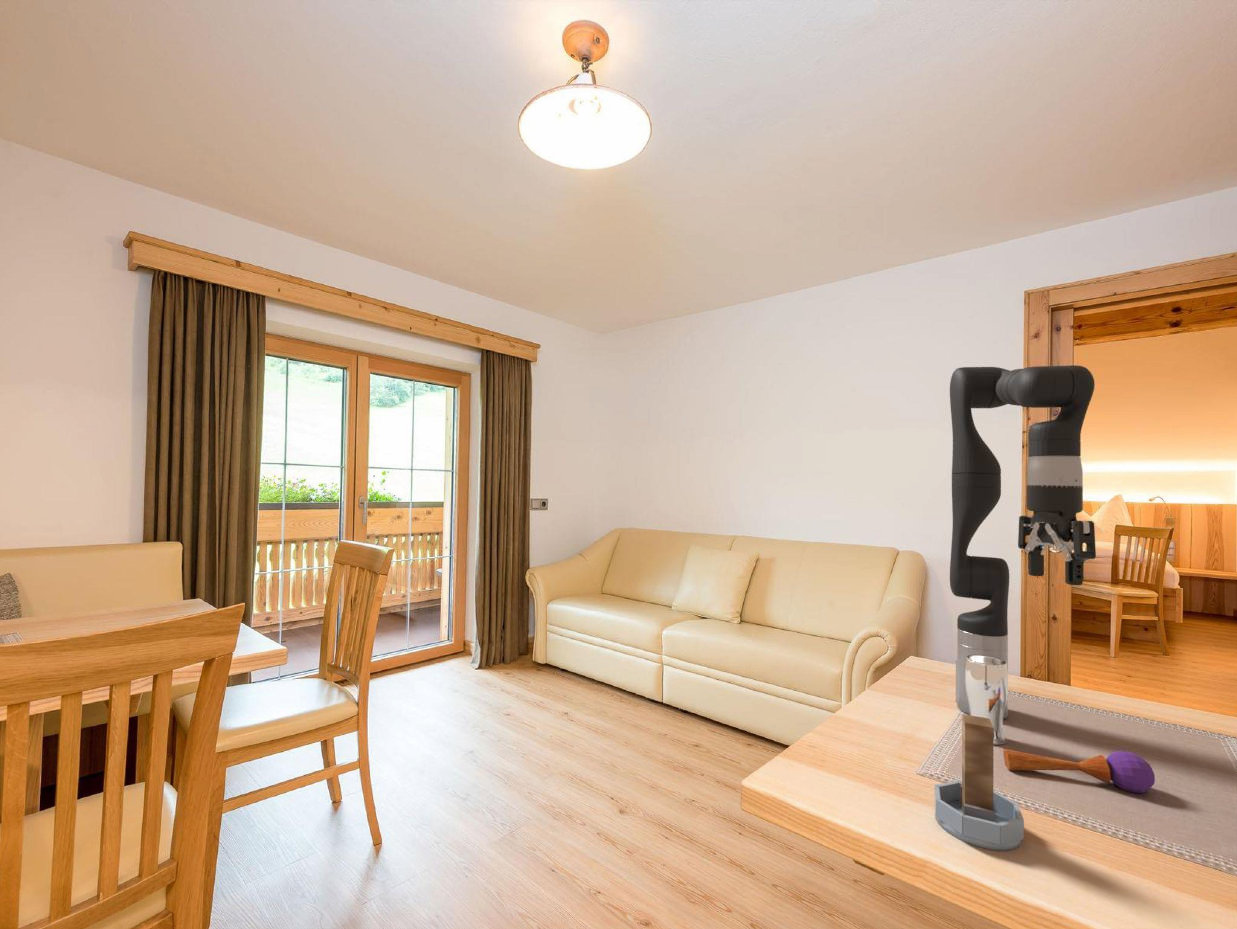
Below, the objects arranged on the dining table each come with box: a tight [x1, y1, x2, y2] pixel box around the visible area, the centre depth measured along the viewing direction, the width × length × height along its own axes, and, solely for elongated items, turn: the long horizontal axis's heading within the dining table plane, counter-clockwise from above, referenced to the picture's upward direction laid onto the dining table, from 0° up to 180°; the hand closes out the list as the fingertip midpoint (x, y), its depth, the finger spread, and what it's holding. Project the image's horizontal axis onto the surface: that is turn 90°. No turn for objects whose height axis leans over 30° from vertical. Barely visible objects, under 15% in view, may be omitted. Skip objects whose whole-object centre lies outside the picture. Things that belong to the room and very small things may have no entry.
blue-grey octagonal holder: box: [933, 780, 1025, 852], centre depth 80 cm, size 10×10×4 cm
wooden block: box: [961, 713, 994, 814], centre depth 80 cm, size 3×3×14 cm
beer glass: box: [965, 655, 1009, 746], centre depth 109 cm, size 7×7×15 cm
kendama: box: [1002, 748, 1156, 794], centre depth 94 cm, size 6×6×20 cm
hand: (1054, 580), depth 94 cm, fingers open, 8 cm apart
